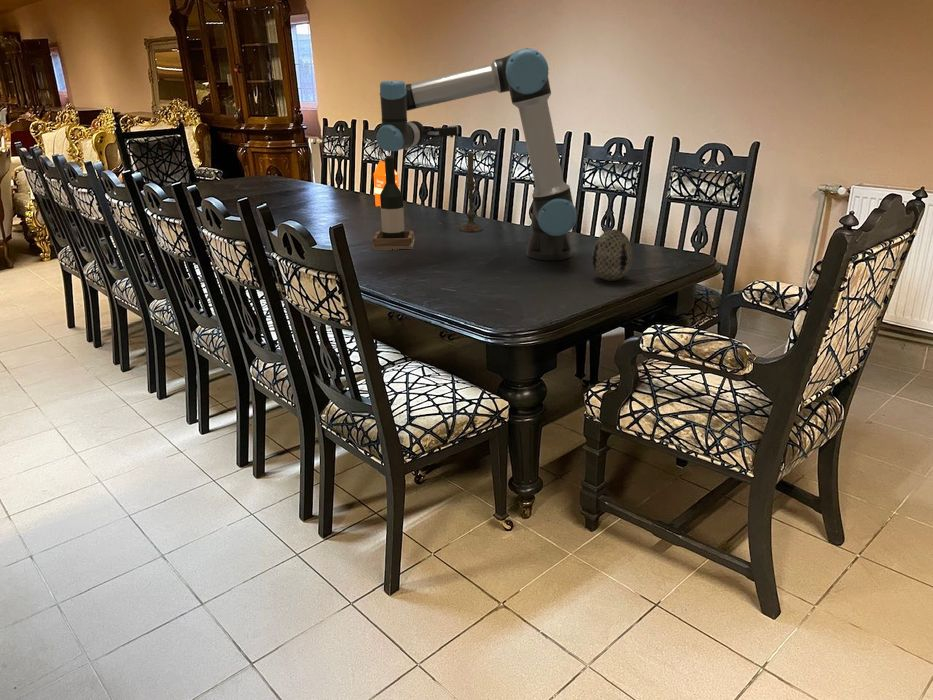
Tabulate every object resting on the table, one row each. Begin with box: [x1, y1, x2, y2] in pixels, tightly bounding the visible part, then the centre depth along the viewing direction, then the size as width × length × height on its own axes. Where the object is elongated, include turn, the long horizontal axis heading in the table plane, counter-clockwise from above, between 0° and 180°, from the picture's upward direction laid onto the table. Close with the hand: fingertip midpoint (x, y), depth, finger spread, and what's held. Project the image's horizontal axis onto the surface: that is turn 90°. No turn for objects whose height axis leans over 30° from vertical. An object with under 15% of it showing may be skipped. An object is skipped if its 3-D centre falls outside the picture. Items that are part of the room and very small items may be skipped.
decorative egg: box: [591, 229, 634, 282], centre depth 202 cm, size 12×12×15 cm
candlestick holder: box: [459, 151, 484, 233], centre depth 265 cm, size 9×9×30 cm
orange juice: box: [373, 160, 400, 208], centre depth 316 cm, size 8×9×20 cm
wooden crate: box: [371, 230, 416, 251], centre depth 248 cm, size 14×14×4 cm
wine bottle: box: [380, 155, 406, 238], centre depth 242 cm, size 8×8×30 cm
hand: (438, 128), depth 232 cm, fingers open, 13 cm apart
